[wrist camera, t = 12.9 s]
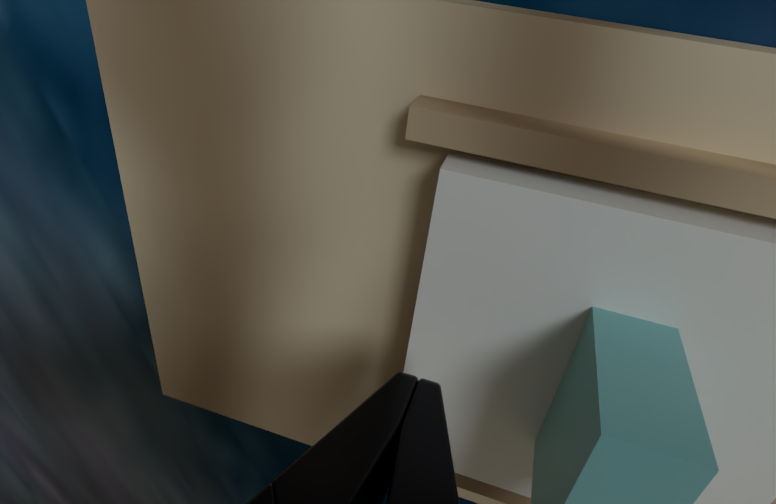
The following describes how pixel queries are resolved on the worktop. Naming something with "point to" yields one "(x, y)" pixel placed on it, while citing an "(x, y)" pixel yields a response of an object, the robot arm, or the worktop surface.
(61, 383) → the worktop surface
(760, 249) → the cover
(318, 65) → the board
